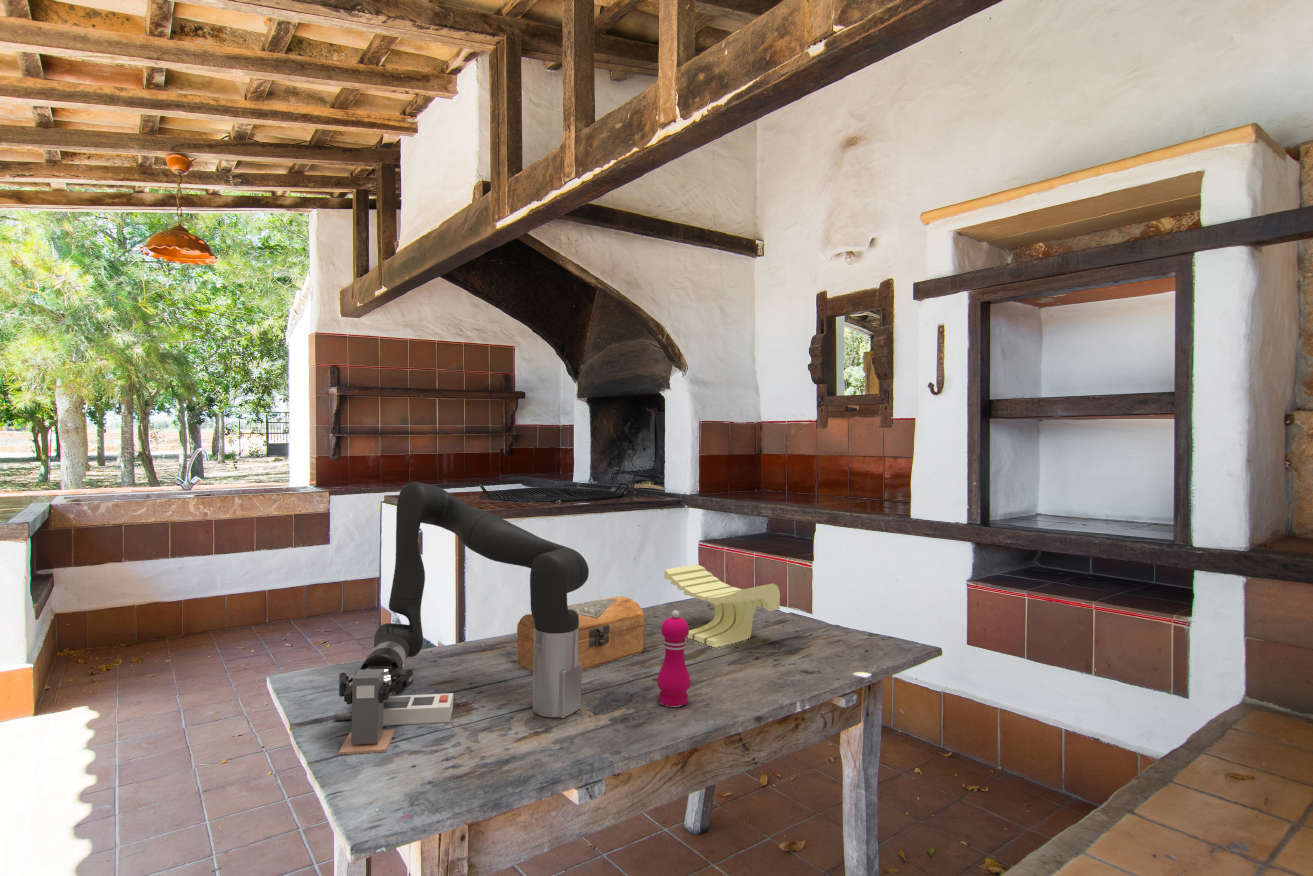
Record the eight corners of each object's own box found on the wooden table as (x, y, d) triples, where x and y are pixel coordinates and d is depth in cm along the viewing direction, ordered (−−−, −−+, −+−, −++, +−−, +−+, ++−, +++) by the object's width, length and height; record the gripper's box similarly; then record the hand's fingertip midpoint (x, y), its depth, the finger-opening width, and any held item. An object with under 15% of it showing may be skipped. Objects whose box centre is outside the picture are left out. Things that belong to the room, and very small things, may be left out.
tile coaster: (394, 732, 131) (394, 729, 131) (386, 752, 123) (386, 749, 123) (349, 734, 130) (349, 732, 130) (338, 755, 122) (338, 752, 122)
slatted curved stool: (778, 646, 189) (780, 581, 189) (739, 658, 178) (740, 589, 178) (702, 620, 212) (703, 563, 211) (663, 629, 201) (664, 569, 201)
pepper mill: (666, 711, 144) (669, 616, 144) (650, 698, 150) (653, 608, 150) (696, 705, 147) (698, 613, 147) (679, 693, 154) (681, 604, 153)
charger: (382, 732, 129) (384, 668, 129) (377, 743, 125) (378, 677, 124) (357, 733, 128) (358, 669, 128) (351, 744, 124) (352, 678, 124)
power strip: (453, 707, 143) (453, 690, 143) (449, 722, 136) (449, 704, 136) (340, 713, 139) (340, 695, 139) (330, 728, 132) (331, 709, 132)
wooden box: (552, 683, 159) (554, 623, 158) (514, 663, 171) (516, 608, 170) (648, 655, 179) (650, 602, 179) (608, 640, 191) (610, 590, 191)
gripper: (347, 648, 139) (322, 679, 122) (421, 645, 142) (407, 676, 125) (346, 685, 139) (321, 721, 122) (420, 681, 142) (406, 717, 125)
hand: (365, 698), depth 124 cm, fingers open, 5 cm apart
